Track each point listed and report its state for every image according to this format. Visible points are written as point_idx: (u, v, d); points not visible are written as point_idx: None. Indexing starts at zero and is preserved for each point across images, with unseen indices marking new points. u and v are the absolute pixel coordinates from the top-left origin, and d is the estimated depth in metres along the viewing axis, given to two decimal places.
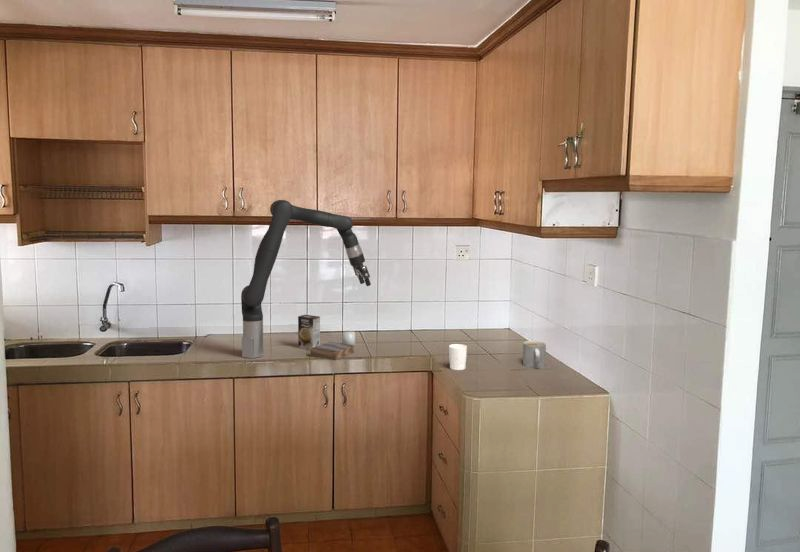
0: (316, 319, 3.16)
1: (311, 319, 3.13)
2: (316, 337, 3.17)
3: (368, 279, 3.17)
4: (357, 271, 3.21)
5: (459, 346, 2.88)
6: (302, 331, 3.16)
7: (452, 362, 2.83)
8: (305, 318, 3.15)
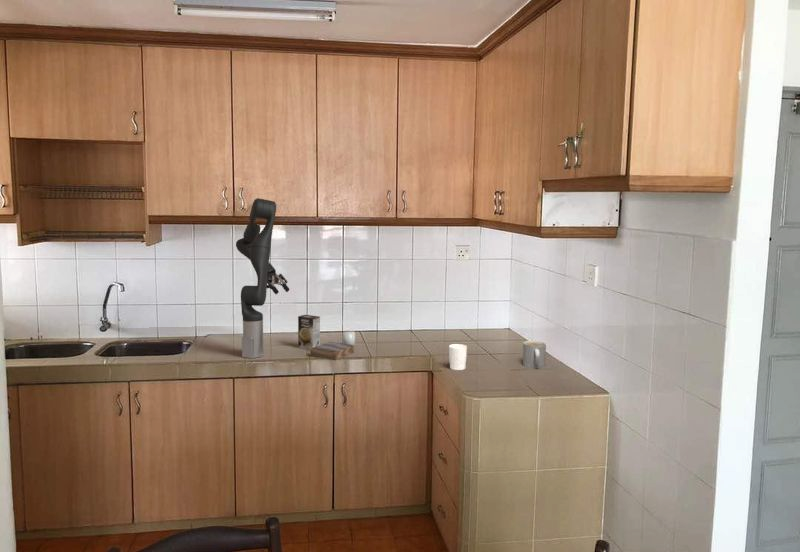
0: (316, 319, 3.16)
1: (311, 319, 3.13)
2: (316, 337, 3.17)
3: None
4: (273, 279, 3.24)
5: (459, 346, 2.88)
6: (302, 331, 3.16)
7: (452, 362, 2.83)
8: (305, 318, 3.15)
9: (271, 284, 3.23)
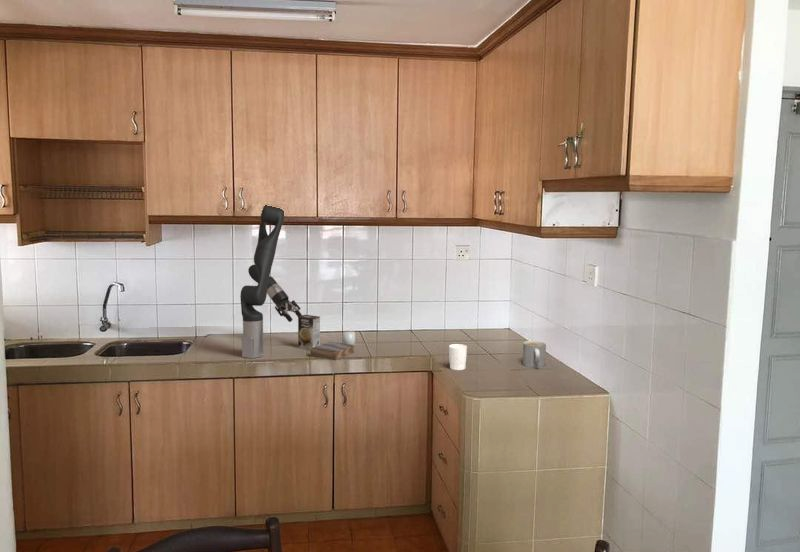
0: (316, 319, 3.16)
1: (311, 319, 3.13)
2: (316, 337, 3.17)
3: None
4: None
5: (459, 346, 2.88)
6: (302, 331, 3.16)
7: (452, 362, 2.83)
8: (305, 318, 3.15)
9: (284, 312, 3.20)
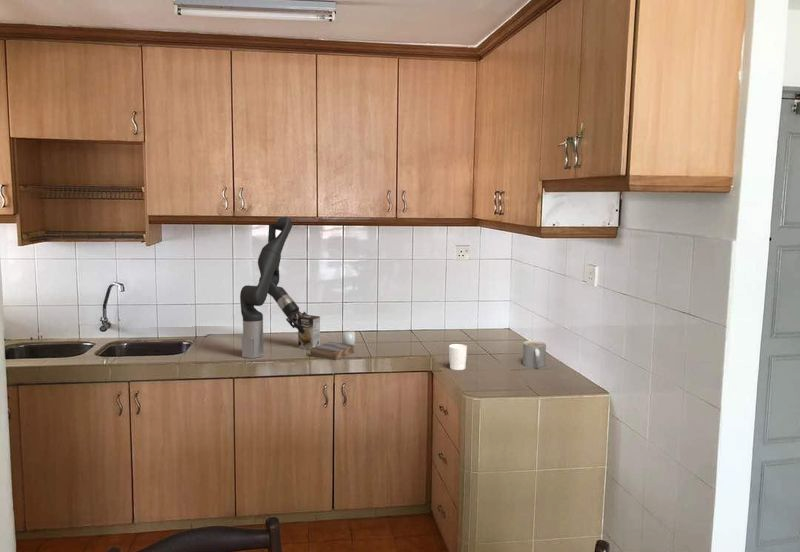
0: (316, 319, 3.16)
1: (311, 319, 3.13)
2: (316, 337, 3.17)
3: None
4: None
5: (459, 346, 2.88)
6: None
7: (452, 362, 2.83)
8: (305, 318, 3.15)
9: (296, 323, 3.18)
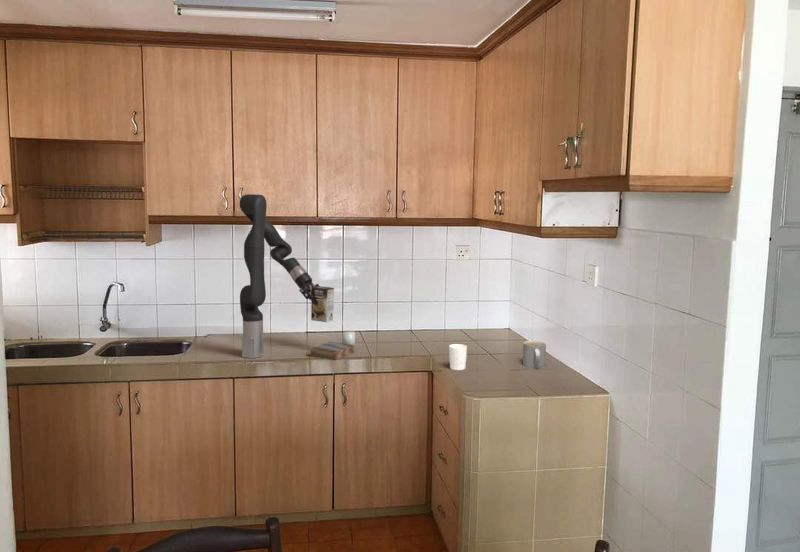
0: (330, 290, 3.07)
1: (325, 290, 3.05)
2: (330, 309, 3.08)
3: None
4: None
5: (459, 346, 2.88)
6: None
7: (452, 362, 2.83)
8: (319, 289, 3.06)
9: None
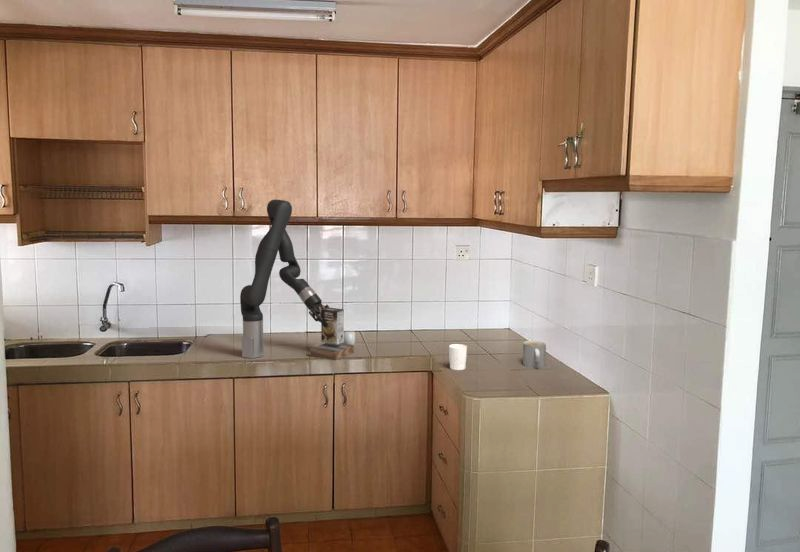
0: (340, 312, 3.03)
1: (335, 312, 3.01)
2: (340, 331, 3.04)
3: None
4: (320, 311, 3.06)
5: (459, 346, 2.88)
6: None
7: (452, 362, 2.83)
8: (329, 311, 3.02)
9: (319, 316, 3.05)
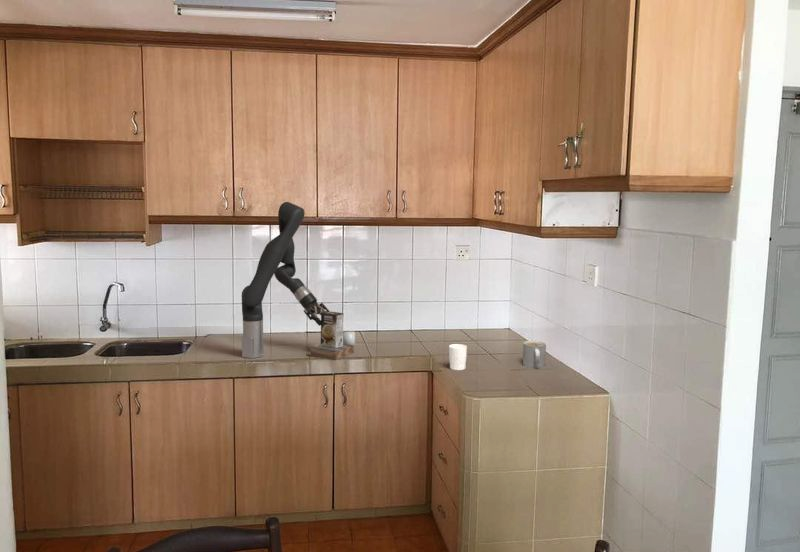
0: (340, 316, 3.03)
1: (334, 315, 3.01)
2: (339, 335, 3.04)
3: None
4: None
5: (459, 346, 2.88)
6: (325, 328, 3.04)
7: (452, 362, 2.83)
8: (328, 314, 3.03)
9: (314, 315, 3.07)
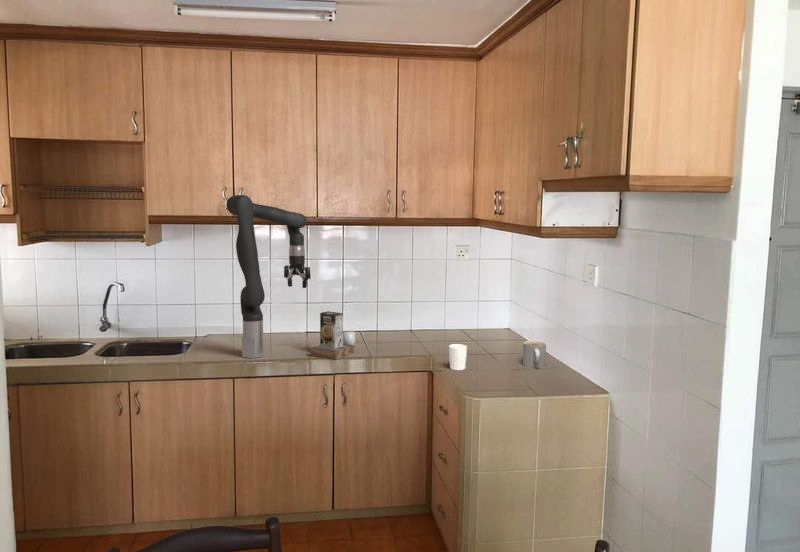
0: (339, 316, 3.03)
1: (333, 316, 3.01)
2: (338, 335, 3.04)
3: (306, 281, 3.15)
4: (292, 272, 3.16)
5: (459, 346, 2.88)
6: (324, 328, 3.04)
7: (452, 362, 2.83)
8: (327, 315, 3.02)
9: None
